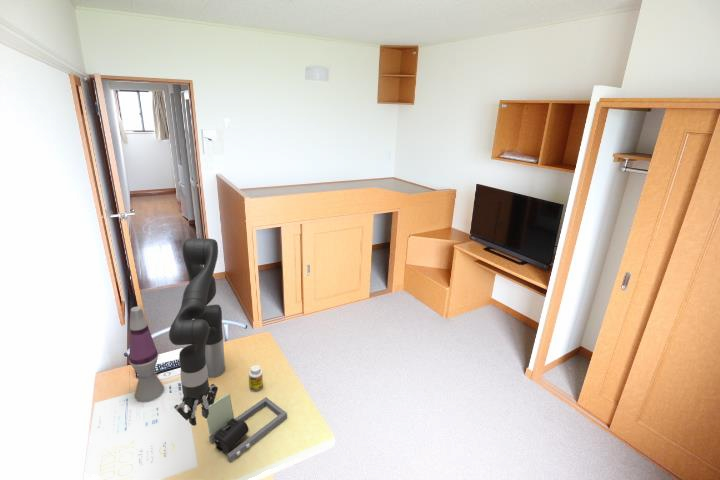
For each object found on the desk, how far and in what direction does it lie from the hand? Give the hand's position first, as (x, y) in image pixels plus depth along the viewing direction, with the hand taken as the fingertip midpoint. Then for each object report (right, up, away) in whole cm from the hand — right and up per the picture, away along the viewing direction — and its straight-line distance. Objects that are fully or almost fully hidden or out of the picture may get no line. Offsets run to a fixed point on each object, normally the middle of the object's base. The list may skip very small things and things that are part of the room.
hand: (199, 420), depth 121 cm
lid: (+1, -6, +15) cm, 16 cm away
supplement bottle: (+7, -6, +41) cm, 42 cm away
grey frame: (+10, -14, +20) cm, 26 cm away
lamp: (-35, -5, +35) cm, 50 cm away
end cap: (+5, -16, +15) cm, 22 cm away
